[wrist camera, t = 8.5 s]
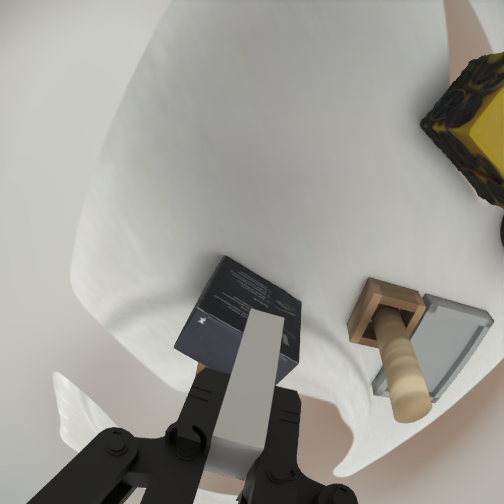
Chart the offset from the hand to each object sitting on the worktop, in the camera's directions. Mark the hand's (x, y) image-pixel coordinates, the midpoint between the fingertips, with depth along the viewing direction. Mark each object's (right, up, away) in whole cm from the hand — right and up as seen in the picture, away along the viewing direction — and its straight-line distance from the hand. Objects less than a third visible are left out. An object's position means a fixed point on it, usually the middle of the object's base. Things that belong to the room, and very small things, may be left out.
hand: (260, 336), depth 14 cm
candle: (+21, +16, +9) cm, 28 cm away
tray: (+21, -8, +19) cm, 29 cm away
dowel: (+13, -2, +17) cm, 22 cm away
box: (0, -1, +19) cm, 19 cm away
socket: (+13, -2, +17) cm, 22 cm away
